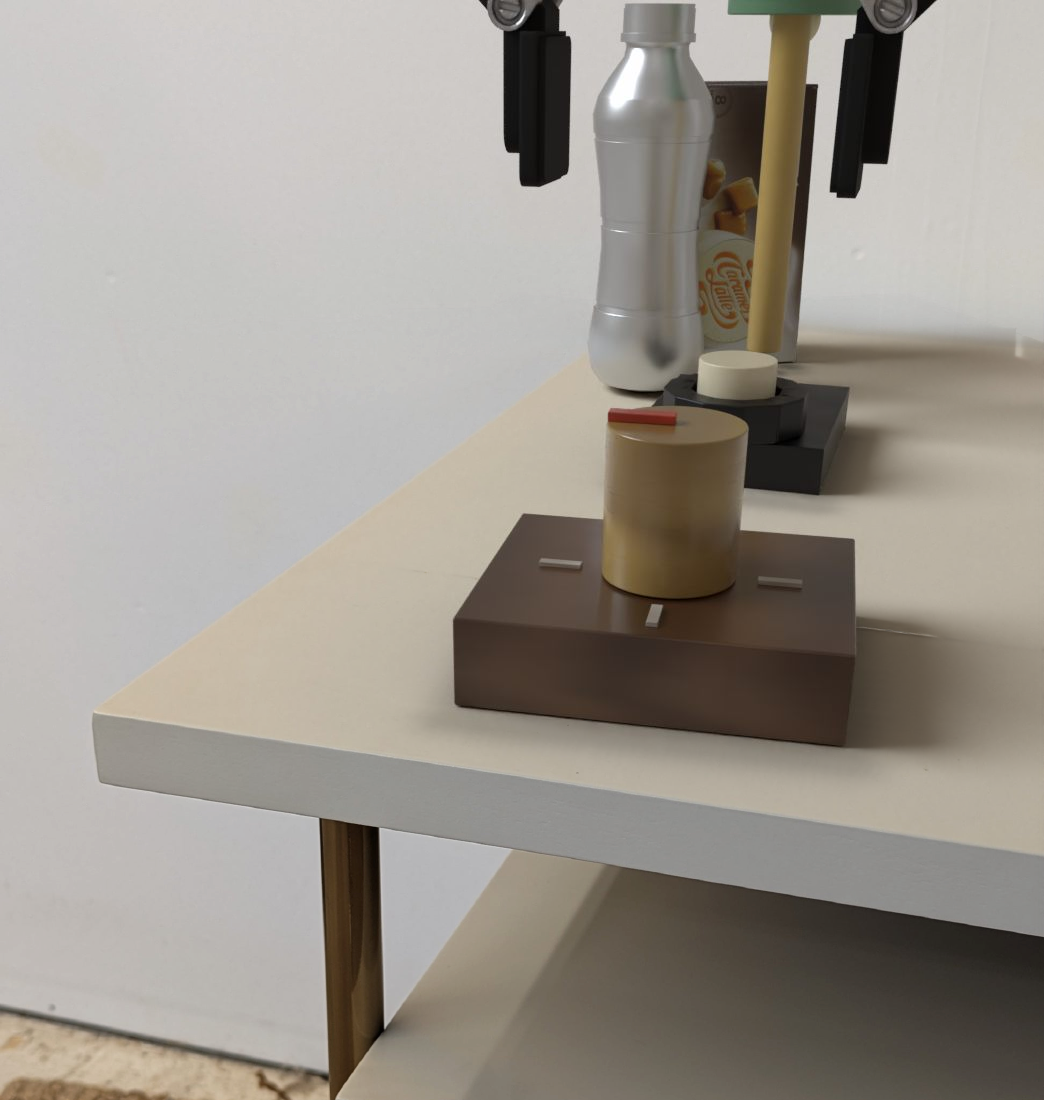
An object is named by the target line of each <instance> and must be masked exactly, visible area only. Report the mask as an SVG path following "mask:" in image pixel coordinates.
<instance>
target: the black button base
mask: <svg viewBox="0 0 1044 1100" xmlns="http://www.w3.org/2000/svg"><path fill="white" fill-rule="evenodd" d="M697 385H698V373H697V374H696V373H695V374H691V375H688V374H680V375H679V376H678V378H674V379H671V380H670V381H669V382H668V384H667V385H666V386H665V387H664V390H663V392H662V394H661V395H659V397H658V398H657V399H656V400H655V402H654V403H653V404H651V406H650V407H653V406H687V407H698V408H705V409H711V410H717V411H721V412H725V413H728V414H731V415H733V416H736V417H738V418H740V419H742V420H743V421H745V422H746V423H747V425H748V428H749V431H748V444H747V456H746V468H745V480H744V489H749V490H761V491H770V492H781V493H789V494H801V495H812V496H820V494H821V492H822V489H823V487H824V484H825V481H826V479H827V476H828V473H829V471H830V468H831V466H832V463H833V460H834V458H835V455H836V452H837V450H838V448H839V444H840V442H841V440H842V437H843V434H844V431H845V429H846V425H847V415H848V407H849V399H850V398H849V397H850V389H851V388H850V387H849V386H841V385H828V384H815V383H803V382H802V383H801V382H797V381H795V380H793V379H788V378H784V377H781V376H780V377H779V376H777V379H776V390H775V396H774V397H771V398H767V399H754V400H733V399H721V398H714V397H709V396H705V395H701V394H698V393H697Z"/></svg>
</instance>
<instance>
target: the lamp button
mask: <svg viewBox="0 0 1044 1100" xmlns="http://www.w3.org/2000/svg"><path fill="white" fill-rule="evenodd" d="M778 367H779V362H778V360H777V359H776V358H775V357H773V356H770V355H767V354H763V353H758V352H751V351H736V350H729V351H715V352H710V353H706V354H703V355H701V356H700V358H699V369H698V385H697V393H698V394H701V395H705V396H709V397H714V398H721V399H733V400H754V399H767V398H771V397H774V396H775V390H776V379H777V377H778Z"/></svg>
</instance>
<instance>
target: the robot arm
mask: <svg viewBox="0 0 1044 1100" xmlns="http://www.w3.org/2000/svg"><path fill="white" fill-rule="evenodd" d="M937 1H938V0H860V2H861V4H862V6H861V7H860V8H859V9H858V10H857V15H856V20H855V29H854V33H852V37H851V38H850V37H849V38H845V39H844V45H843V54H842V62H841V72H840V73H841V74H840V82H839V93H838V100H837V101H838V103H837V113H836V122H835V132H834V140H833V141H834V142H833V149H832V160H831V170H830V179H829V193H830V194H836V199H857V196H858V194H859V193H860V191H861V187H862V181H863V173H864V165H888V164H889V158H890V152H891V151H890V150H891V143H892V134H893V125H894V118H895V110H896V101H897V95H898V94H897V92H898V84H899V77H900V69H901V59H902V52H903V43H904V36H905V32H906V30H907V29H909V27H910V26H912V25H913V24H914V23H915V22H916V21H917V20H918V19H919V18H920V17H921V16H922V15H923V14H924V13H925V12H926V11H927V10H928V9H929V8H930V7H931V6H932V5H933V4H935V3H936V2H937ZM478 2H479V3H480V4H481V5H482V6H483V7H484V9H486V11H487V15H488V17H489V20H490V21H491V23H492V24H493V25H494V26H495V27H496V28H498V29H499V30H501V31H502V32H503V33H502V38H503V39H502V44H503V47H502V48H503V49H502V51H503V52H502V55H503V56H502V57H503V58H502V61H503V62H502V64H503V65H502V67H503V69H502V71H503V72H502V73H503V74H502V75H503V77H502V78H503V79H502V80H503V84H502V85H503V88H502V89H503V91H502V92H503V93H502V97H503V98H502V99H503V100H502V101H503V104H502V105H503V106H502V107H503V110H502V111H503V113H502V114H503V119H502V120H503V122H502V123H503V124H502V125H503V132H502V133H503V143H504V144H503V145H504V148H505V151H506V152H507V153H508V154H518V177H519V183H520V186H521V187H525V188H529V187H530V188H541V187H544V186H546V185H548V184H551V183H553V182H556V181H558V180H560V179H562V177H564V176H566V175H568V173H569V170H570V146H571V145H570V141H571V140H570V139H571V97H572V96H571V92H572V91H571V89H572V87H571V86H572V39H571V36H570V35H567V30H560V16H561V15H560V14H561V12H560V6H561V5H562V3H563V2H564V0H478Z"/></svg>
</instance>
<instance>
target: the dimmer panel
mask: <svg viewBox="0 0 1044 1100" xmlns="http://www.w3.org/2000/svg"><path fill="white" fill-rule="evenodd" d="M602 539H603V518H589V517H577V516H566V515H565V516H563V515H550V514H549V515H548V514H540V513H539V514H538V513H525V512H524V513H522V514H521V515H520V517H519V518H518V520H517V522H516V523H515V524H514V526H513V528H512V529H511V531H510V532H509V533H508V535H507V536H506V538H505V540H504V541H503V543H502V545H501V546H500V547H499V549H498V550H497V552H496V553H495V554H494V556H493V558H492V559H491V561H490V562H489V564H488V566H487V567H485V570H484V571H483V572H482V574H481V576H480V577H479V579H478V580H477V582H476V583H475V585H474V586H473V588H472V589H471V591H470V592H469V594H468V595H467V597H466V598H465V600H464V601H463V603H462V604H461V606H460V607H459V608H458V610H457V612H456V613H455V615H454V616H453V618H452V655H453V656H452V657H453V659H452V660H453V700H454V705H456V706H461V707H471V708H480V709H488V710H489V709H490V710H497V711H498V710H499V711H508V712H509V711H510V712H518V713H528V714H535V715H545V716H546V715H547V716H556V717H565V718H575V719H585V720H593V721H603V722H611V723H612V722H613V723H622V724H629V725H630V724H631V725H640V726H651V727H660V728H670V729H679V730H688V731H697V732H707V733H716V734H724V735H725V734H727V735H736V736H744V737H752V738H762V739H763V738H764V739H773V740H781V741H792V742H801V743H810V744H820V745H822V744H823V745H829V746H839V747H844V746H845V744H846V740H847V732H848V726H849V718H850V710H851V702H852V696H853V695H852V694H853V687H854V686H853V685H854V679H855V672H856V664H857V604H856V602H857V599H856V597H857V595H856V593H857V592H856V589H857V588H856V540H855V539H854V538H851V537H850V538H849V537H836V536H823V535H812V534H810V535H809V534H799V533H786V532H785V533H784V532H773V531H772V532H771V531H759V530H758V531H757V530H747V529H740V540H739V552H738V564H737V576H736V580H735V582H734V583H733V584H732V585H731V586H730V587H729V588H727V589H725V590H724V591H721V592H719V593H716V594H713V595H708V596H704V597H697V598H687V599H666V598H655V597H648V596H642V595H638V594H633V593H630V592H627V591H624V590H621V589H619V588H617V587H615V586H613V585H612V584H610V583H609V582H608V581H607V580H606V579H605V578H604V576H603V574H602V569H601V568H602Z"/></svg>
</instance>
